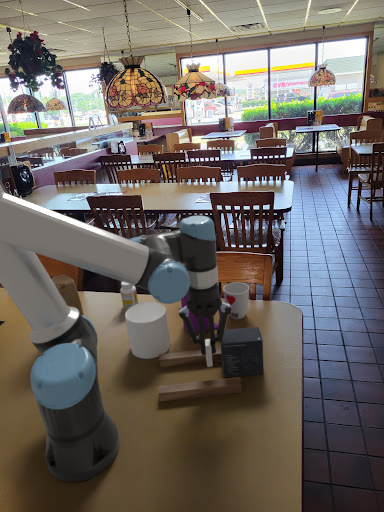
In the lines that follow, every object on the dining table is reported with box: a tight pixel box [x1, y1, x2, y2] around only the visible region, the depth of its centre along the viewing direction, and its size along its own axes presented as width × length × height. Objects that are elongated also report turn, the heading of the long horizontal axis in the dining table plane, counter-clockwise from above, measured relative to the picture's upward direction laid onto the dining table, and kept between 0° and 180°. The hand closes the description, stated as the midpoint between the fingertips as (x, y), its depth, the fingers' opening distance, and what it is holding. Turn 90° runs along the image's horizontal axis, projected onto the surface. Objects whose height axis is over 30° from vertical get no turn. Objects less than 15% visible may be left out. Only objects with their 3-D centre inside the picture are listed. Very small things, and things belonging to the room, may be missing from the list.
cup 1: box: [124, 301, 171, 360], centre depth 110 cm, size 12×12×12 cm
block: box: [50, 274, 85, 316], centre depth 118 cm, size 11×8×20 cm
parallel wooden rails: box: [158, 347, 242, 402], centre depth 99 cm, size 15×20×2 cm
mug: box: [180, 294, 221, 334], centre depth 116 cm, size 9×16×15 cm, turn 51°
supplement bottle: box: [120, 281, 139, 311], centre depth 134 cm, size 5×5×10 cm
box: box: [219, 326, 265, 378], centre depth 98 cm, size 11×7×10 cm, turn 90°
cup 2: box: [223, 281, 250, 320], centre depth 122 cm, size 8×8×10 cm
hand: (209, 363), depth 98 cm, fingers closed
